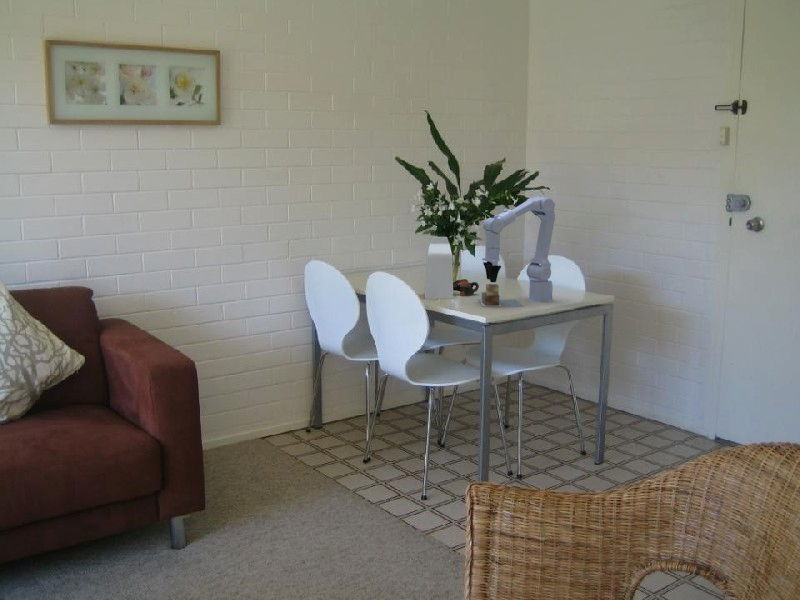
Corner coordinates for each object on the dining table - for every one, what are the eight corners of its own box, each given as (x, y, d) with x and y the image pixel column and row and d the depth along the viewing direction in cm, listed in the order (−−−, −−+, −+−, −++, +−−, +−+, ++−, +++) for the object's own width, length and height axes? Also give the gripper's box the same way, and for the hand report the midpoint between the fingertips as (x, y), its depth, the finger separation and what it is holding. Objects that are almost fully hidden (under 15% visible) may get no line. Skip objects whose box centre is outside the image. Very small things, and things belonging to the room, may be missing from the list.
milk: (425, 299, 380) (426, 238, 375) (424, 294, 391) (425, 235, 387) (453, 299, 380) (454, 238, 375) (452, 295, 391) (453, 235, 386)
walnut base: (496, 302, 370) (496, 293, 370) (499, 305, 364) (499, 295, 364) (482, 302, 370) (482, 293, 369) (484, 305, 364) (484, 295, 363)
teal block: (493, 302, 372) (494, 292, 372) (483, 302, 372) (483, 292, 371) (491, 300, 377) (492, 290, 376) (481, 300, 376) (481, 290, 376)
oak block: (496, 293, 369) (496, 284, 368) (498, 295, 364) (498, 285, 364) (485, 293, 369) (486, 284, 368) (487, 295, 364) (487, 285, 363)
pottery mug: (454, 298, 385) (449, 281, 387) (454, 304, 394) (450, 287, 396) (481, 291, 385) (476, 274, 387) (481, 298, 394) (476, 281, 396)
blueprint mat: (515, 300, 380) (515, 299, 380) (524, 307, 362) (524, 306, 362) (476, 300, 379) (476, 299, 379) (483, 307, 361) (483, 306, 361)
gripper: (479, 245, 370) (478, 278, 372) (485, 249, 356) (484, 283, 358) (496, 245, 371) (495, 278, 373) (503, 249, 356) (502, 283, 359)
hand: (491, 280), depth 365 cm, fingers open, 7 cm apart
